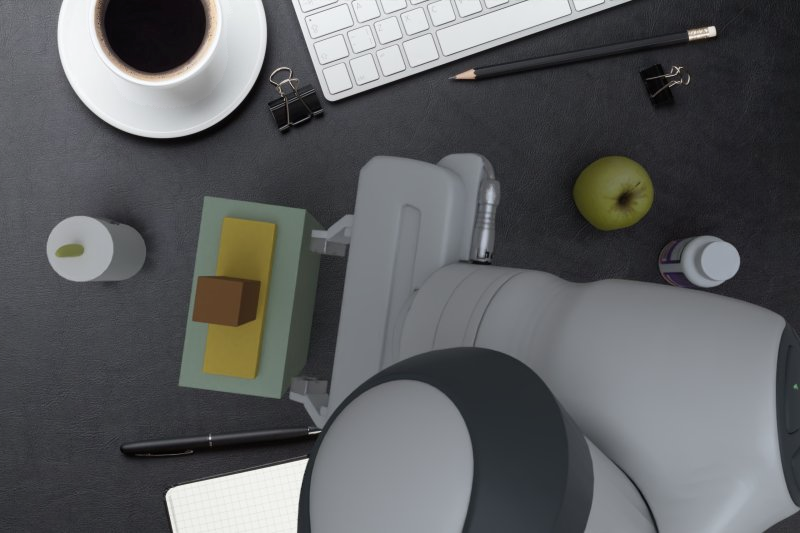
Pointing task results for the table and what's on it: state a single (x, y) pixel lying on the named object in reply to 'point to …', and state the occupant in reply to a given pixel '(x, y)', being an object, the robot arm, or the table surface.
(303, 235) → the tall sage green box
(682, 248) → the pill bottle
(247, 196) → the table surface
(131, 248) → the candle
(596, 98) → the table surface
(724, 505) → the robot arm
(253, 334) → the wiper
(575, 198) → the apple
